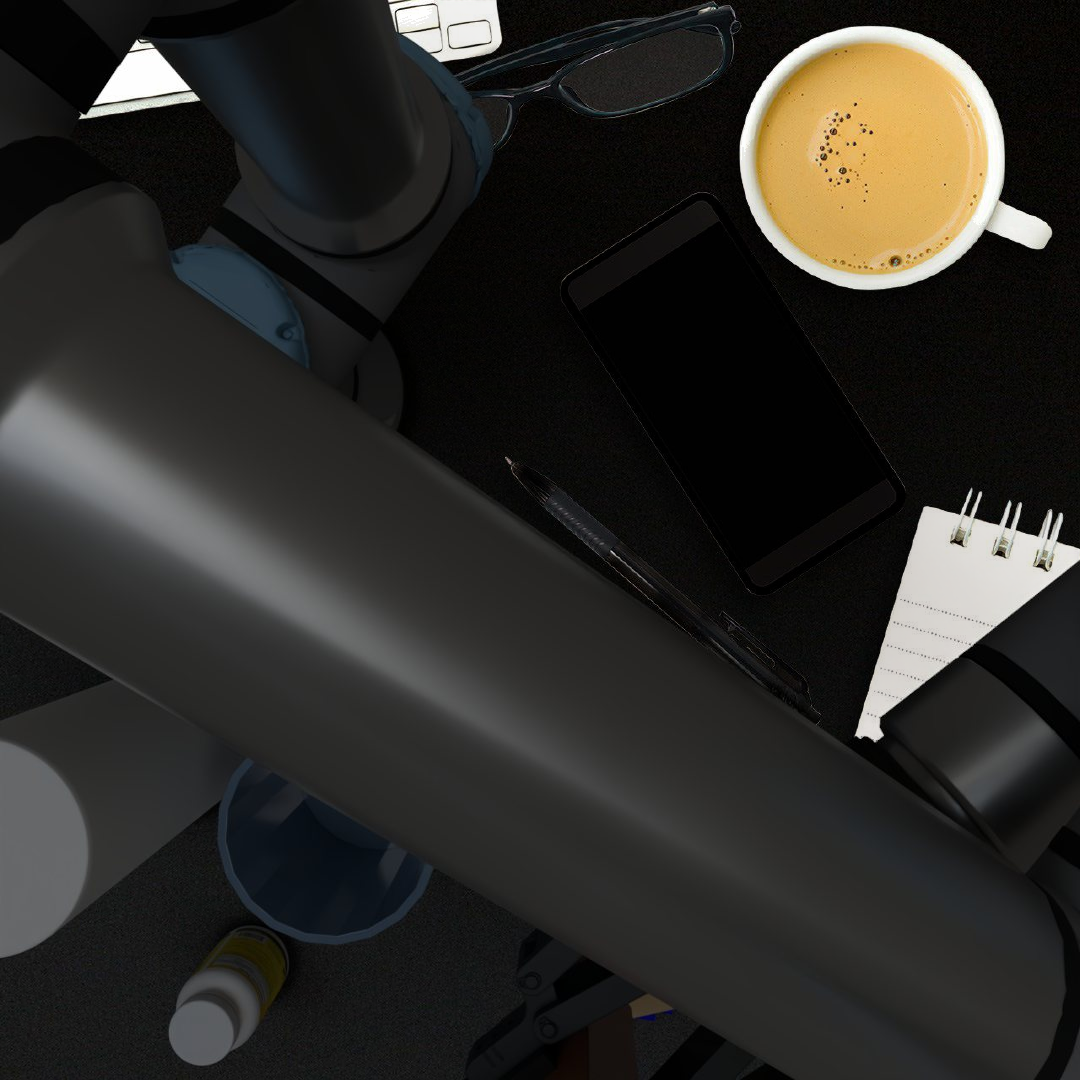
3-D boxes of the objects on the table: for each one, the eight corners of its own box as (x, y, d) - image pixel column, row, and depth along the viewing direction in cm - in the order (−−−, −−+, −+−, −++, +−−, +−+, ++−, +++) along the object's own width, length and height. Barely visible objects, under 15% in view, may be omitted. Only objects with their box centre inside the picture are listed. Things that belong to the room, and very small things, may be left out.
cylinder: (244, 821, 78) (84, 969, 53) (94, 811, 79) (-135, 952, 54) (251, 668, 78) (92, 744, 53) (99, 658, 78) (-129, 729, 53)
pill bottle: (235, 1009, 79) (178, 1090, 68) (204, 939, 78) (142, 1010, 67) (303, 980, 78) (257, 1058, 67) (273, 911, 78) (222, 977, 67)
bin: (274, 701, 78) (193, 751, 62) (444, 660, 77) (407, 700, 61) (317, 871, 78) (248, 965, 62) (487, 832, 77) (462, 917, 61)
